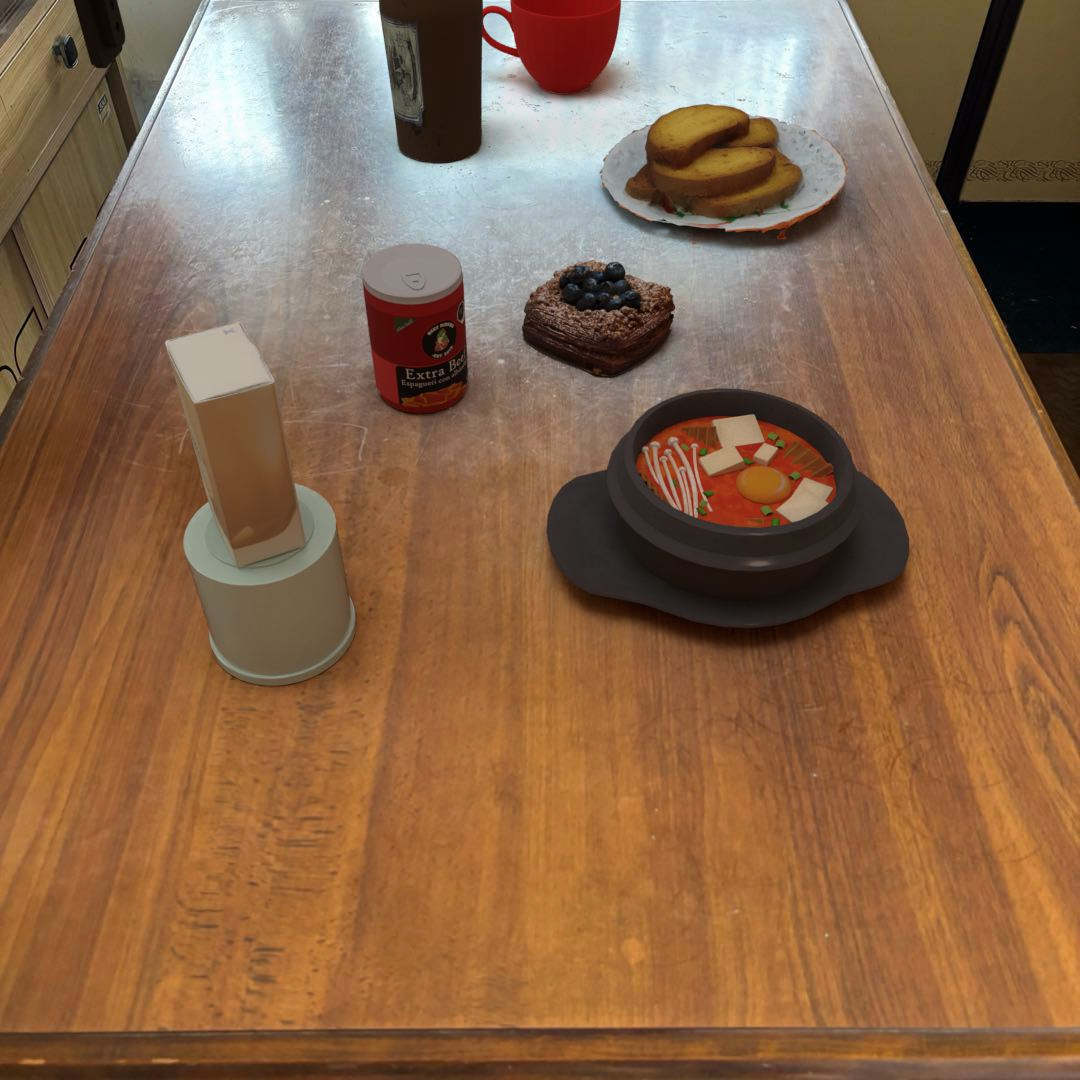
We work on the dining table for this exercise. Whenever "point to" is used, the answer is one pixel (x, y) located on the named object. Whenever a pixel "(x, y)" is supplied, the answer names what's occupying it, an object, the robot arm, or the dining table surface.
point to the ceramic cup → (561, 40)
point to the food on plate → (723, 170)
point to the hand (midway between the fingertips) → (26, 56)
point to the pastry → (598, 318)
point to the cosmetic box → (238, 441)
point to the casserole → (728, 514)
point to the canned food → (416, 326)
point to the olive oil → (435, 75)
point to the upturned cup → (274, 599)
